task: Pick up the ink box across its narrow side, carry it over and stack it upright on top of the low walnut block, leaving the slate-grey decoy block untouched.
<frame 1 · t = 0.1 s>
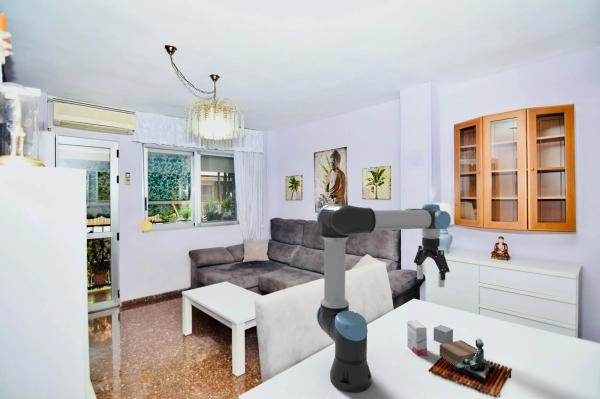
hand: (430, 282, 139), 28 cm above the table, fingers open, 13 cm apart
walnut block: (460, 359, 125), on the table
slate block: (443, 341, 141), on the table
ink box: (416, 350, 132), on the table
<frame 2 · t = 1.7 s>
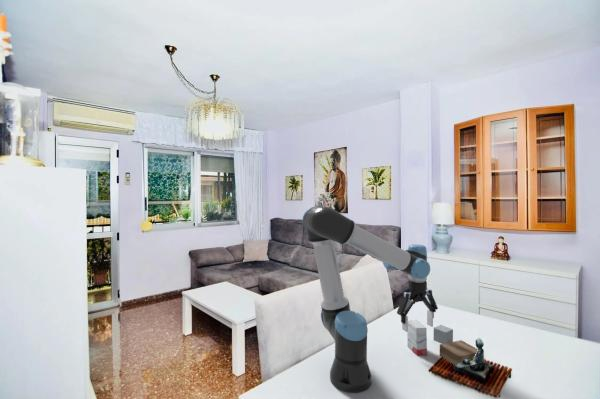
hand: (417, 328, 132), 10 cm above the table, fingers open, 13 cm apart
nothing on the table moved.
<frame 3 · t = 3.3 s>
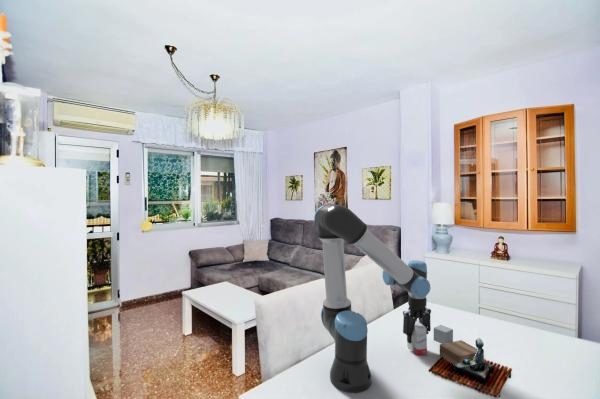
hand: (416, 348, 132), 1 cm above the table, fingers closed on ink box, 6 cm apart
ink box: (416, 350, 132), on the table, touching gripper
everything else where it was.
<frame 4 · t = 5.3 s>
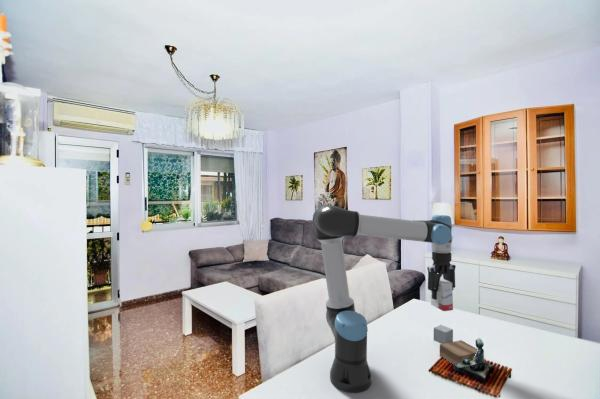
hand: (441, 305, 128), 21 cm above the table, fingers closed on ink box, 6 cm apart
ink box: (441, 308, 128), point 20 cm above the table, touching gripper
everything else where it was.
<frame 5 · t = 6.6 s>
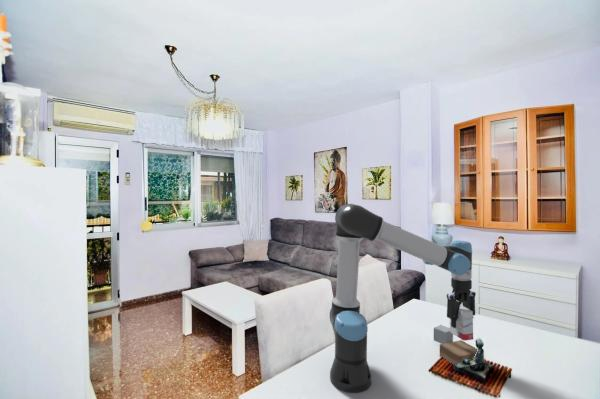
hand: (461, 333, 125), 11 cm above the table, fingers closed on ink box, 6 cm apart
ink box: (460, 336, 125), point 10 cm above the table, touching gripper
everything else where it was.
when the fingers open (7 cm above the table, at t = 7.6 s): ink box stays where it is, resting on walnut block.
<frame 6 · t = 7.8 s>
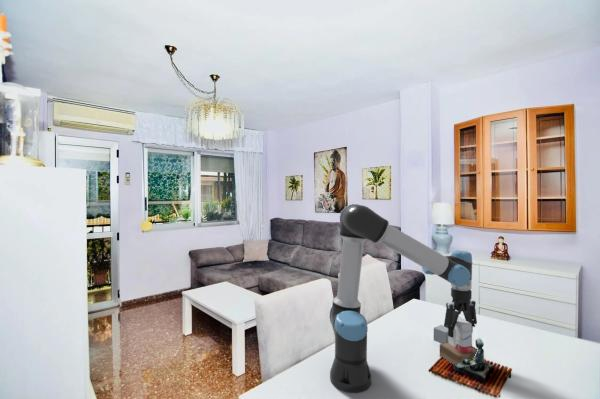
hand: (460, 342, 125), 7 cm above the table, fingers open, 8 cm apart
ink box: (459, 348, 125), point 5 cm above the table, touching walnut block
everything else where it was.
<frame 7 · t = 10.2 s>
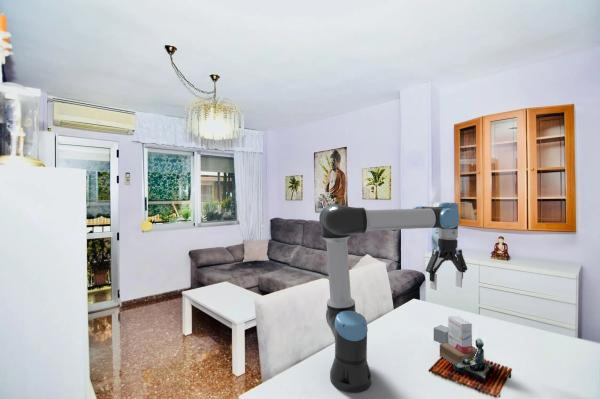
hand: (446, 287, 128), 29 cm above the table, fingers open, 13 cm apart
nothing on the table moved.
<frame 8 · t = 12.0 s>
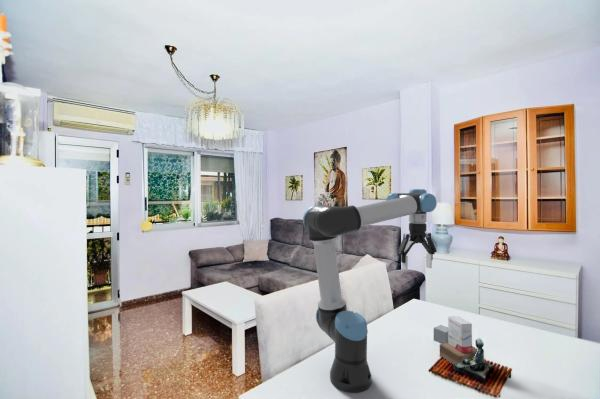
hand: (417, 268, 138), 35 cm above the table, fingers open, 13 cm apart
nothing on the table moved.
at the end: ink box inside the target area on the walnut block (0.3 cm from its centre), point 4.8 cm above the walnut block's base; ink box tilted 0°; the gripper is holding nothing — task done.
